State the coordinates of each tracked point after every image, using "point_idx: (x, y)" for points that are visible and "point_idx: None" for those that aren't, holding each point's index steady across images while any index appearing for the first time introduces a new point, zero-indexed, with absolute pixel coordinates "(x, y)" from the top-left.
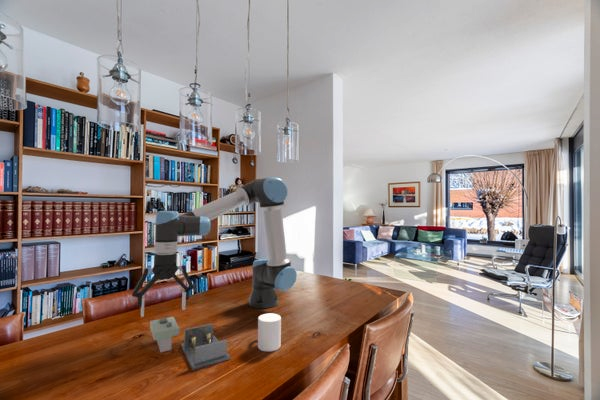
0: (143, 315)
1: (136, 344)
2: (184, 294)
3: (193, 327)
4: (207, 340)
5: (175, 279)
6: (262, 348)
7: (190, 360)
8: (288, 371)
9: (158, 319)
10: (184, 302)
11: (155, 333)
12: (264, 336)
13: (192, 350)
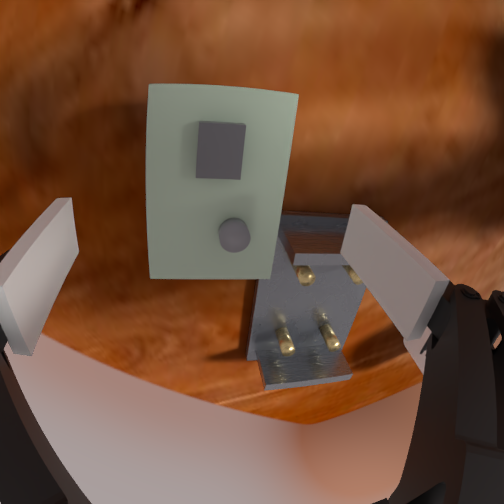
0: (74, 256)
1: (109, 89)
2: (401, 326)
3: (333, 255)
4: (345, 270)
5: (402, 487)
6: (405, 344)
7: (254, 334)
8: (373, 398)
9: (201, 87)
10: (370, 282)
11: (157, 277)
12: (419, 368)
13: (281, 288)
